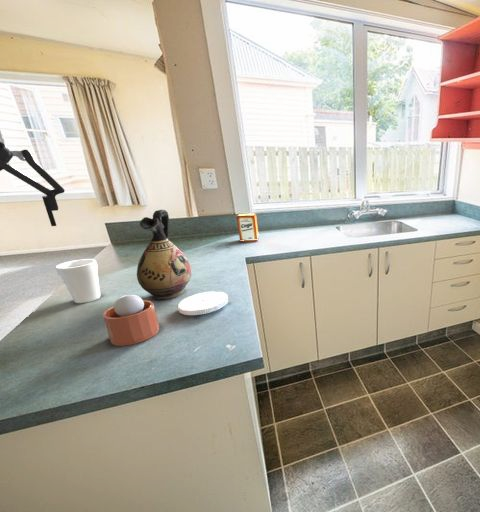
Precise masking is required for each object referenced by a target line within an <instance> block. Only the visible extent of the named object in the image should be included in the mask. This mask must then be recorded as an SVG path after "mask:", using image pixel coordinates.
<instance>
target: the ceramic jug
mask: <svg viewBox="0 0 480 512" xmlns="http://www.w3.org/2000/svg"><path fill="white" fill-rule="evenodd" d="M139 225H140V227H141V228H142V230H145V231H150V232H152V236H151V238H150V241H149V242H148V244H147V246H146V247H145V249H144V250H143V252H142V254H141V256H140V258H139V260H138V263H137V266H136V267H137V268H136V279H137V282H138V284H139V285H140V287H141V288H142V289H143V290H144V291H146V292H147V293H148V294H150V295H151V299H153V300H159V301H163V300H168V299H173V298H176V297H179V296H180V295H182V294H183V293H184V290H185V288H186V286H187V285H188V284H189V282H190V281H191V278H192V275H193V273H192V272H193V271H192V267H191V264H190V262H189V260H188V257H186V255H185V254H184V253H183V252H182V251H181V250H180V249H179V248H178V247H177V245H175V243H173V242H172V241H171V240H170V237H169V235H170V234H169V229H170V217H169V213H168V211H167V210H166V209H158V210H155V211H153V214H152V218H151V217H147V216H145V217H143V218H142V219H141V220H140V222H139Z"/></svg>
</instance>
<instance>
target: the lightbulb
mask: <svg viewBox="0 0 480 512" xmlns="http://www.w3.org/2000/svg"><path fill="white" fill-rule="evenodd" d="M143 300H144V299H142V297H140V296H139V295H136V294H125V295H122V296H121V297H119V298H117V299H116V301H115V302H114V305H113V307H114V310H115V312H116V314H118V315H119V316H120V317H126V316H130V315H134V314H137V313H139V312H142V311H143V308H144V302H143Z"/></svg>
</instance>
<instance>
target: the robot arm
mask: <svg viewBox="0 0 480 512" xmlns="http://www.w3.org/2000/svg"><path fill="white" fill-rule="evenodd" d="M13 157H15V158H18V159H19V160H20V161H23V162H26V163H27V164H28V165H29V166H30V167H31V168H32V169H33V170H34V171H35V172H36V173H37V174H38V175H39V176H40V177H41V178H43V180H44V181H46V182H47V184H49V185H50V186H51V187H52V188H51V189H50V188H48V187H46V186H45V185H43V184H42V183H41V182H39V181H37V180H35V179H34V178H32V177H30V176H29V175H27V174H26V173H24V172H23V171H22V170H19V169H17V168H16V167H15V166H13V165H12V164H10V161H11V160H12V159H13ZM2 171H5V172H7V173H8V174H11V175H12V176H14V177H16V178H17V179H18V180H20V181H22V182H24V183H26V184H27V185H29V186H30V187H33V188H34V189H36V190H37V191H38V192H41V193H42V194H44V195H42V196H41V198H42V201H43V205H44V207H45V210H46V214H47V216H48V220H49V223H50V225H51V227H57V222H56V219H55V216H54V211H59V205H58V201H57V198H56V196H58V195H60V194H64V193H65V188H64V187H63V186H62V185H60V183H58V181H56V180H55V179H54V178H53V176H51V174H49V173H48V172H47V170H45V169H44V168H43V166H41V165H40V164H39V163H38V162H37V161H36V160H35V158H34V156H33V154H32V152H31V150H29V149H23V150H10V149H9V148H8V147H7V145H6V141H5V138H4V137H3V133H2V129H0V172H2Z"/></svg>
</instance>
